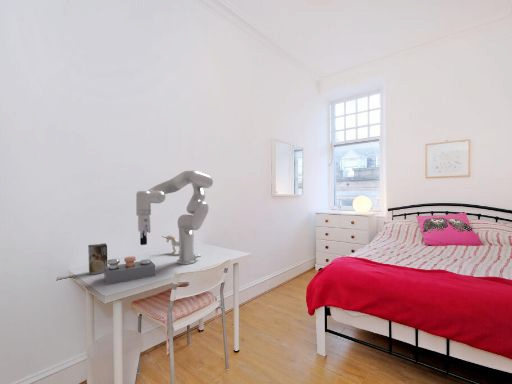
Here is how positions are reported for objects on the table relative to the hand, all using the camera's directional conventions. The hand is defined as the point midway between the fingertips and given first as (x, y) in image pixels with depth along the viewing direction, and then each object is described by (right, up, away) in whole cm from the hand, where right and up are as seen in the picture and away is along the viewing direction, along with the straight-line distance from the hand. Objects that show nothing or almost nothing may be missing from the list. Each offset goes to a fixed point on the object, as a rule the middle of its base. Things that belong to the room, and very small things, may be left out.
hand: (143, 244), depth 149 cm
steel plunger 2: (+1, -16, +1) cm, 16 cm away
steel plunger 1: (-12, -13, -8) cm, 20 cm away
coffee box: (-28, -17, +3) cm, 33 cm away
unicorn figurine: (+4, -16, +44) cm, 47 cm away
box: (-6, -17, -4) cm, 19 cm away
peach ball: (-6, -13, -4) cm, 15 cm away
